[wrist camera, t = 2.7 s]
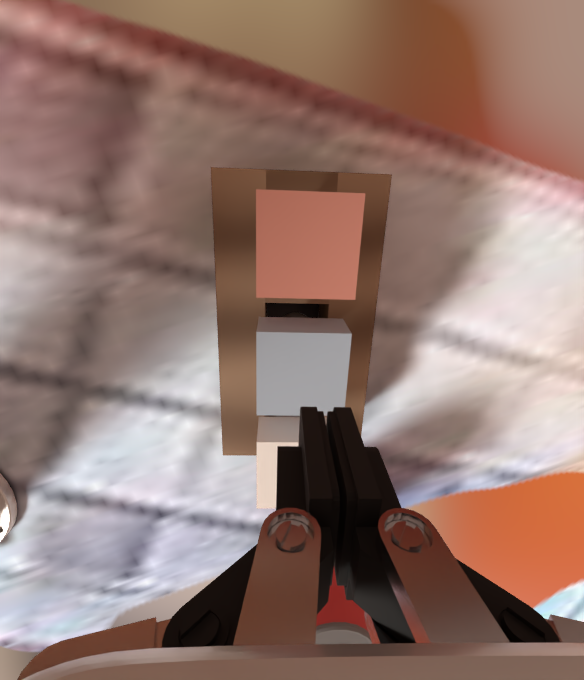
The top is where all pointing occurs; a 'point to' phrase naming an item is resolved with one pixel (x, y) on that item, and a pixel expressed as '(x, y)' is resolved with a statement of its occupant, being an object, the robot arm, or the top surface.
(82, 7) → the top surface
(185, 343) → the top surface
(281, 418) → the white key
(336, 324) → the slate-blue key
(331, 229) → the brick-red key
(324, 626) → the beer can
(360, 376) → the walnut console
